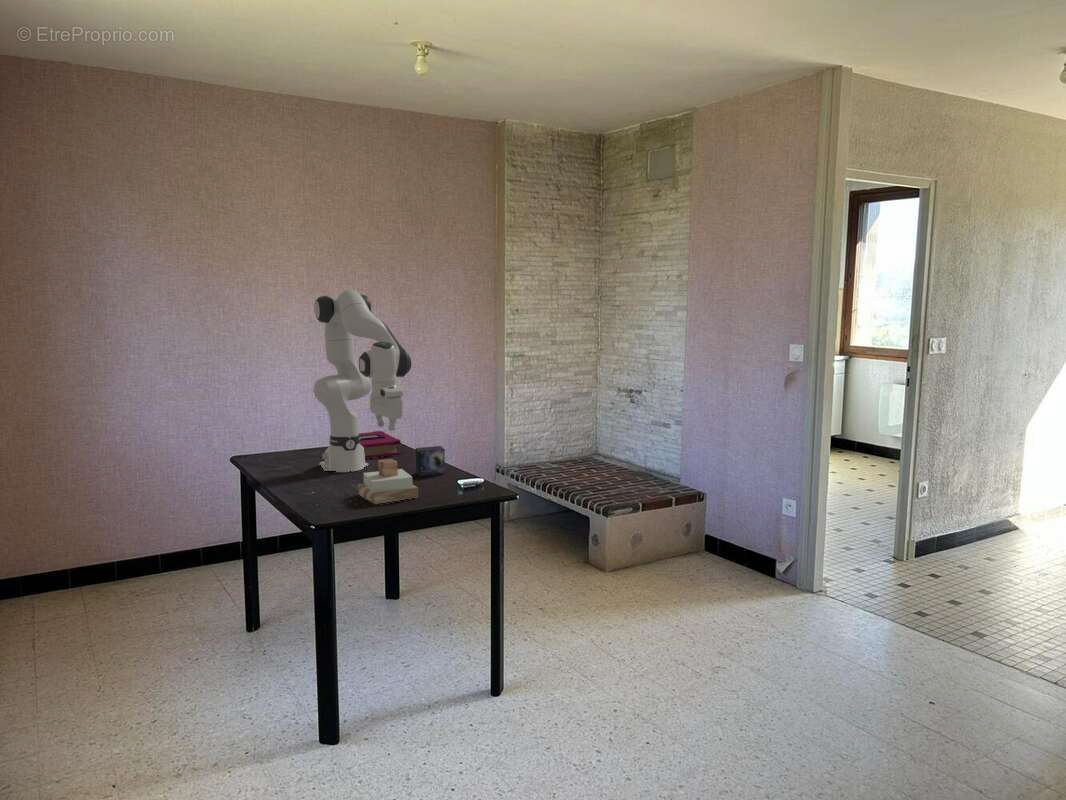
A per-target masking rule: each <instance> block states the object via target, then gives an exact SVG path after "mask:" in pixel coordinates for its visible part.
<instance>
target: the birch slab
mask: <svg viewBox="0 0 1066 800" xmlns="http://www.w3.org/2000/svg"><path fill="white" fill-rule="evenodd" d="M358 494H359V495H360V496H362V497H364V498H365V499H364V498H363V499H364V500H366V499H367V500H369V501H371V502H372V503H374V504H379V503H386V502H392V501H398V502H400V501H399V500H404V501H406V500H405V499H409V500H412V499H411V498H415V499H418V497H419V487H418V486H416V485H414V484H413V488H411V489H403V490H394V491H386V492H377V493H372V492H371V491H370V490H369V489H368V488H367V487H366V486H365V485H364V483H361V484H357V495H358ZM359 495H358V496H359ZM360 496H359V497H360ZM362 497H361V498H362ZM367 500H366V501H367ZM369 501H368V502H369ZM371 502H370V503H371ZM372 503H371V504H372ZM392 503H393V502H392ZM374 504H373V505H374ZM386 504H387V503H386Z"/></svg>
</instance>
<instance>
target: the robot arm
mask: <svg viewBox="0 0 1066 800" xmlns="http://www.w3.org/2000/svg"><path fill="white" fill-rule="evenodd" d="M371 303H372V302H371V299H370V298H369V297H368V296H367V295H365V294H360V293H359V292H358V291H356V290H355V289H346V290H343V291H342V292H341V293H339V294H333V295H321V296H319V297H317V298H316V299H315V302H314V305H313V312H314V315H315V318H316V319H317V321H318V322H320V323H323V324H324V341H325V343H324V345H325V356H326V357H325V359H326V360H327V362H328V363H330V364H331V365H333V366H334V367H335V369H336V371H337V374H335V375H334V374H332V375H327V376H323V377H322V378H318V379H317V380H316V381H315V383H313V384H314V385H313V395H314V397H315V399H316V400H317V401H318V402H320V403H321V404H322V405H323V406H324V408H325V409H326V411H327V413H328V417H329V418H328V419H329V424H330V436H329V441H328V442H329V443H328V444H329V445H328V447H327V448H326V450H325V451H324V453H322V454H321V459H322V460H324V461H321V462H319V466H320V465H321V467H322V468H323V470H324V471H336V472H335V473H351V472H357V471H361V470H363V469H364V467H365V468H366V466H367V467H369V466H368V465H369V462H366V459H365V455H364V448H363V446H361V445H360V434H359V433H360V431H359V429H360V427H359V417H358V414H357V413H356V412H355V411H353V410H351V409H350V407H349V405H348V401H355V400H360V399H362V398H364V397H366V396H368V394H370V397H369V403H370V404H369V410H370V412H371V413H372V414H375V418H376V422H377V427H380V428H383V427H384V426H385V422H384V420H383V417H385V418H388V421H389V425H388V426H387V427H388V428H387V429H388V431H389V432H394V431H395V430H396V429H395V428H396V427H395V426H396V423H397V420H399V419H400V420H401V418H402V417H403V398H402V397H403V396H404V391H403V389H402V388H401V387H400V386H399V383H398V378H403V377H405V376H406V375H407V374H408V373H409V372H410V370H411V369H412V357H411V356H410V354H409V353H408V351H407V350H405V348H403V347H402V345H401V343H400V342H399V341H398V339H397V338H396V336H395V335H394V333H393V332H392V331H391V329H390V328H389V326H388V325H387V323H386V322H384V321H383V320H381V319H379V318H377V317H376V315H374V313H372V304H371ZM354 336H355V337H358V338H365V339H371V340H374V341H377V342H374V343H372V345H371V348H370V349H369V350H367V351H363V353H361V355H360V356H359V358H358V362H357V360H356V359H357V358H356V354H355V353H356V352H355V345H354ZM370 379H371V380H370ZM370 392H371V393H370ZM321 467H320V468H321ZM322 468H321V469H322ZM323 470H322V471H323ZM324 471H323V472H324ZM350 471H351V472H350Z"/></svg>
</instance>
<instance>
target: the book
mask: <svg viewBox="0 0 1066 800" xmlns="http://www.w3.org/2000/svg"><path fill="white" fill-rule="evenodd" d="M359 434H360V445H361V446H363V448H364V455H365V458H372V457H381V456H390V457H392V456H391V455H399V456H401V455H402V452H401V451H399V450H397V445H401V443H402V442H401V439H399V438H396V437H394V436H392V435H390V434H388V433H386V432H385V431H382V430H378V431H377V430H375V431H370V432H359ZM381 458H382V457H381Z"/></svg>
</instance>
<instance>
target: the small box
mask: <svg viewBox="0 0 1066 800" xmlns="http://www.w3.org/2000/svg"><path fill="white" fill-rule="evenodd" d="M445 451H446V449H445V448H444V447H443V446H441V445H434V446H424V447H415V474H416V473H417V474H416V475H417V476H418V475H419V476H418V477H427V476H426V475H431V476H433V475H432V474H441V473H445V474H446V461H445V459H446V456H445V454H446V453H445Z"/></svg>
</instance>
